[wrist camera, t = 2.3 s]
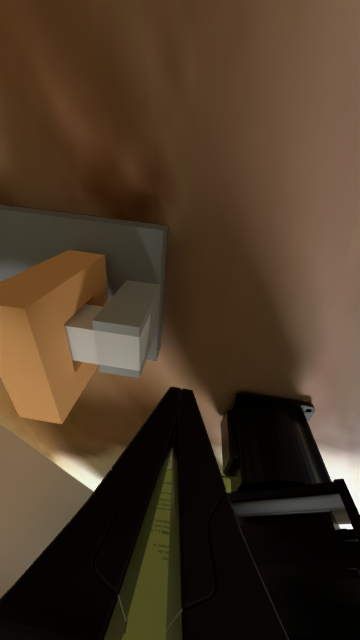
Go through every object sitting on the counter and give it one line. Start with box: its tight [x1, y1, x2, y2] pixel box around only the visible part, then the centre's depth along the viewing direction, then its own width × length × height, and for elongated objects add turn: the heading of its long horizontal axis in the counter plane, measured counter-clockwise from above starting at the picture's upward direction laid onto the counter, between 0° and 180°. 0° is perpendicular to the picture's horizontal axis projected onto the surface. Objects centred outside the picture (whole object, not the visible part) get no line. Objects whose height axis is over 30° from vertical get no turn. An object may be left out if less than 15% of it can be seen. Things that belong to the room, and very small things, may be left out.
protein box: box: [122, 470, 231, 640], centre depth 24 cm, size 10×15×16 cm
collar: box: [0, 250, 109, 424], centre depth 11 cm, size 2×6×6 cm, turn 175°
